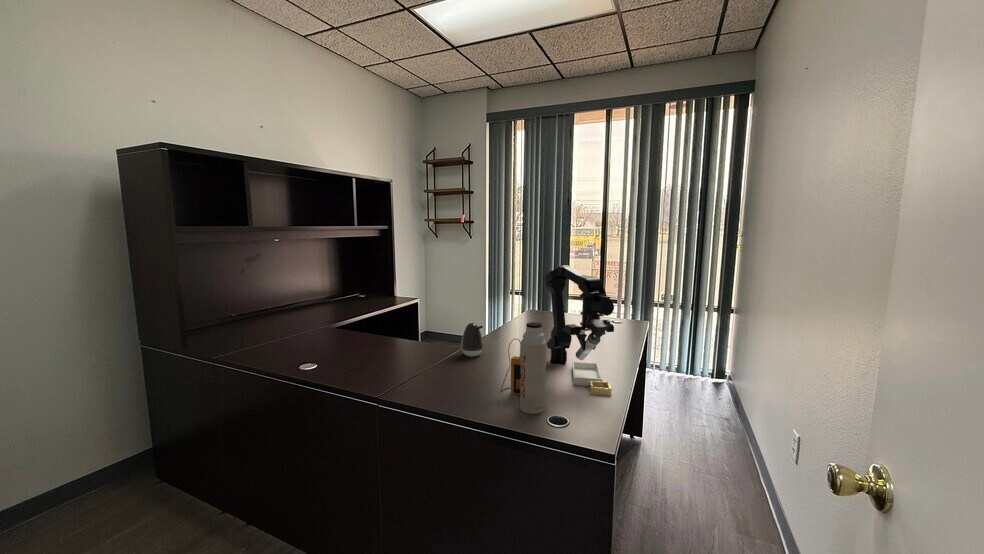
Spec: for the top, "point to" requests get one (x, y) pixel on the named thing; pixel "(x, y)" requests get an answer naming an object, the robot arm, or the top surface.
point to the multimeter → (515, 373)
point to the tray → (585, 373)
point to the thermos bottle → (533, 369)
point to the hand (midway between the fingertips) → (588, 350)
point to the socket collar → (600, 388)
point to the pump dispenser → (472, 340)
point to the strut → (588, 346)
